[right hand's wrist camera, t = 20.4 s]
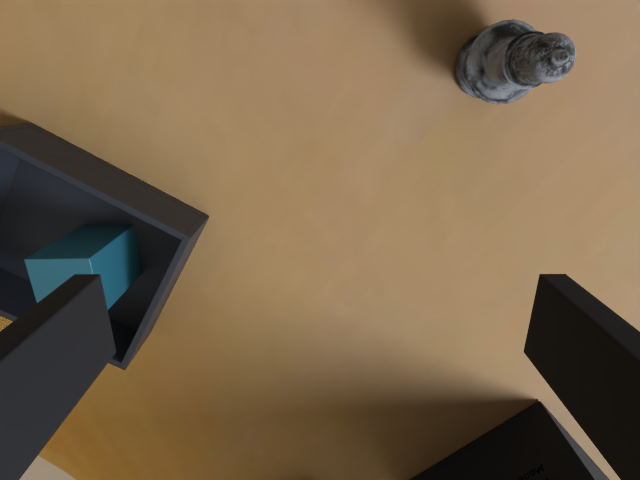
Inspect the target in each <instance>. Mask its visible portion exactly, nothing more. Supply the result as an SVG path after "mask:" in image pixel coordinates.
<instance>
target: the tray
mask: <svg viewBox="0 0 640 480" xmlns="http://www.w3.org/2000/svg"><path fill="white" fill-rule="evenodd" d="M208 218H209V216H208V215H206V214H204V213H202V212H200V211H198V210H197V209H195V208H193V207H191V206H189V205H187V204H185V203H183V202H181V201H179V200H178V199H176V198H174V197H172V196H170V195H168V194H166V193H164V192H162V191H160V190H159V189H157V188H155V187H153V186H151V185H149V184H147V183H145V182H143V181H141V180H139V179H138V178H136V177H134V176H132V175H130V174H128V173H126V172H124V171H122V170H120V169H119V168H117V167H115V166H113V165H111V164H109V163H107V162H105V161H103V160H101V159H100V158H98V157H96V156H94V155H92V154H90V153H88V152H86V151H84V150H82V149H81V148H79V147H77V146H75V145H73V144H71V143H69V142H67V141H65V140H63V139H62V138H60V137H58V136H56V135H54V134H52V133H50V132H48V131H46V130H44V129H42V128H41V127H39V126H37V125H35V124H33V123H25V124H18V125H10V126H3V127H0V316H2V317H4V318H7V319H9V320H11V321H15V320H16V319H17V318H19V317H20V316H21V315H23V314H24V313H25V312H27V311H28V310H29V309H30V308H32V307H33V306H34V305H36V304H37V302H36V299H35V295H34V292H33V288H32V285H31V282H30V278H29V275H28V271H27V268H26V264H25V261H24V259H26V258H27V257H29V256H31V255H32V254H34V253H36V252H37V251H39V250H41V249H42V248H44V247H46V246H48V245H49V244H51V243H53V242H54V241H56V240H58V239H59V238H61V237H63V236H64V235H66V234H68V233H70V232H71V231H73V230H75V229H76V228H78V227H80V226H90V225H134V229H135V234H136V239H137V245H138V250H139V256H140V261H141V266H142V272H143V273H142V274H141V275H140V276H139V277H138V278H137V280H136V281H135V282H134V283H133V284H132V285H131V286H130V287H129V288H128V289H127V290H126V291H125V292H124V293H123V294H122V295H121V297H120V298H119V299H118V300H117V301H116V302H115V303H114V304H113V305H112V306H111V307H110V308H109V309H108V314H109V319H110V324H111V329H112V333H113V338H114V343H115V348H116V353H115V354H114V355H113V357H112V358H111V359H110V361H109V362H108V363H110V364H112V365H114V366H117V367H119V368H121V369H123V370H125V369H126V368H127V366H128V365H129V363H130V362H131V361H132V359H133V358H134V356H135V355H136V353H137V352H138V350H139V349H140V347H141V346H142V344H143V343H144V342H145V340H146V338H147V337H148V336H149V334H150V332H151V330H152V328H153V326H154V324H155V323H156V321H157V319H158V317H159V315H160V313H161V311H162V309H163V307H164V305H165V303H166V301H167V299H168V297H169V295H170V293H171V291H172V289H173V287H174V285H175V283H176V281H177V279H178V277H179V275H180V273H181V271H182V269H183V267H184V265H185V263H186V261H187V259H188V257H189V255H190V254H191V252H192V250H193V248H194V246H195V244H196V242H197V240H198V238H199V236H200V234H201V232H202V230H203V228H204V226H205V224H206V222H207V220H208Z"/></svg>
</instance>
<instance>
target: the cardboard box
mask: <svg viewBox="0 0 640 480" xmlns="http://www.w3.org/2000/svg"><path fill="white" fill-rule="evenodd" d="M412 480H609V479H608V477H607V476H606V475H605V474H604V473H603V472H602V471H601V470H600V468H599V467H598V466H597V465H596V464H595V463H594V462H593V460H592V459H591V458H590V457H589V456H588V455H587V454H586V453H585V451H584V450H583V449H582V448H581V447H580V446H579V445H578V443H577V442H576V441H575V440H574V439H573V438H572V437H571V436H570V434H569V433H568V432H567V431H566V430H565V429H564V428H563V426H562V425H561V424H560V423H559V422H558V421H557V420H556V419H555V417H554V416H553V415H552V414H551V413H550V412H549V411H548V409H547V408H546V407H545V406H544V405H543V404H542V403H541V402H538V403H537V404H535V405H533V406H532V407H530V408H528V409H527V410H525V411H523V412H522V413H520V414H519V415H517V416H515V417H514V418H512V419H510V420H509V421H507V422H505V423H504V424H502V425H500V426H499V427H497V428H496V429H494V430H492V431H491V432H489V433H487V434H486V435H484V436H482V437H481V438H479V439H477V440H476V441H474V442H473V443H471V444H469V445H468V446H466V447H464V448H463V449H461V450H459V451H458V452H456V453H455V454H453V455H451V456H450V457H448V458H446V459H445V460H443V461H441V462H440V463H438V464H436V465H435V466H433V467H432V468H430V469H428V470H427V471H425V472H423V473H422V474H420V475H418V476H417V477H415V478H413V479H412Z"/></svg>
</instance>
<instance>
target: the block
mask: <svg viewBox="0 0 640 480" xmlns="http://www.w3.org/2000/svg"><path fill="white" fill-rule="evenodd" d="M24 261H25V264H26V268H27V271H28V275H29V278H30V282H31V285H32V288H33V292H34V295H35V299H36V302H37V303H38V302H39V301H41V300H42V299H43V298H45V297H46V296H47V295H48V294H50V293H51V292H52V291H54V290H55V289H56V288H57V287H59V286H60V285H61V284H63V283H64V282H65V281H66V280H68V279H69V278H70V277H72V276H73V275H74V274H100V275H101V280H102V285H103V290H104V295H105V300H106V304H107V309H109V308H110V307H111V306H112V305H113V304H114V303H115V302H116V301H117V300H118V299H119V298H120V297H121V295H122V294H123V293H124V292H125V291H126V290H127V289H128V288H129V287H130V286H131V285H132V284H133V283H134V282H135V281H136V280H137V278H138V277H139V276H140V275H141V274H142V273H143V272H142V266H141V261H140V256H139V250H138V245H137V239H136V234H135V229H134V225H90V226H80V227H78V228H76V229H75V230H73V231H71V232H70V233H68V234H66V235H64V236H63V237H61V238H59V239H58V240H56V241H54V242H53V243H51V244H49V245H48V246H46V247H44V248H42V249H41V250H39V251H37V252H36V253H34V254H32V255H31V256H29V257H27V258H26V259H24Z"/></svg>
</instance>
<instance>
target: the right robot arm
mask: <svg viewBox="0 0 640 480" xmlns="http://www.w3.org/2000/svg"><path fill="white" fill-rule="evenodd" d="M115 353H116V348H115V343H114V338H113V333H112V329H111V324H110V319H109V314H108V309H107V304H106V300H105V295H104V290H103V285H102V280H101V275H100V274H74V275H73V276H72V277H70V278H69V279H68V280H66V281H65V282H64V283H63V284H61V285H60V286H59V287H57V288H56V289H55V290H54V291H52V292H51V293H50V294H48V295H47V296H46V297H45V298H43V299H42V300H41V301H39V302H38V303H37V304H36V305H34V306H33V307H32V308H30V309H29V310H28V311H27V312H25V313H24V314H23V315H21V316H20V317H19V318H17V319H16V320H15V321H14V322H12V323H11V324H10V325H8V326H7V327H6V328H5V329H3V330H2V331H1V332H0V480H19V479H20V478H21V476H22V475H23V474H24V473H25V471H26V470H27V469H28V467H29V466H30V465H31V463H32V462H33V461H34V459H35V458H36V457H37V455H38V454H39V453H40V451H41V450H42V449H43V448H44V446H45V445H46V444H47V442H48V441H49V440H50V438H51V437H52V436H53V434H54V433H55V432H56V430H57V429H58V428H59V426H60V425H61V424H62V423H63V421H64V420H65V419H66V417H67V416H68V415H69V413H70V412H71V411H72V409H73V408H74V407H75V405H76V404H77V403H78V401H79V400H80V399H81V398H82V396H83V395H84V394H85V392H86V391H87V390H88V388H89V387H90V386H91V384H92V383H93V382H94V380H95V379H96V378H97V376H98V375H99V374H100V373H101V371H102V370H103V369H104V367H105V366H106V365H107V363H108V362H109V361H110V359H111V358H112V357H113V355H114V354H115ZM524 353H525V354H526V355H527V357H528V358H529V359H530V361H531V362H532V363H533V365H534V366H535V367H536V369H537V370H538V371H539V373H540V374H541V375H542V376H543V378H544V379H545V380H546V382H547V383H548V384H549V386H550V387H551V388H552V390H553V391H554V392H555V394H556V395H557V396H558V398H559V399H560V400H561V401H562V403H563V404H564V405H565V407H566V408H567V409H568V411H569V412H570V413H571V415H572V416H573V417H574V419H575V420H576V421H577V423H578V424H579V425H580V426H581V428H582V429H583V430H584V432H585V433H586V434H587V436H588V437H589V438H590V440H591V441H592V442H593V444H594V445H595V446H596V448H597V449H598V450H599V451H600V453H601V454H602V455H603V457H604V458H605V459H606V461H607V462H608V463H609V465H610V466H611V467H612V469H613V470H614V471H615V473H616V474H617V475H618V476H619V478H620V479H621V480H640V332H639V331H638V330H637V329H635V328H634V327H633V326H632V325H630V324H629V323H628V322H626V321H625V320H624V319H623V318H621V317H620V316H619V315H617V314H616V313H615V312H613V311H612V310H611V309H610V308H608V307H607V306H606V305H604V304H603V303H602V302H601V301H599V300H598V299H597V298H595V297H594V296H593V295H592V294H590V293H589V292H588V291H586V290H585V289H584V288H583V287H581V286H580V285H579V284H577V283H576V282H575V281H574V280H572V279H571V278H570V277H568V276H567V275H566V274H540V275H539V280H538V285H537V290H536V295H535V300H534V304H533V309H532V314H531V319H530V324H529V329H528V333H527V338H526V343H525V348H524Z"/></svg>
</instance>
